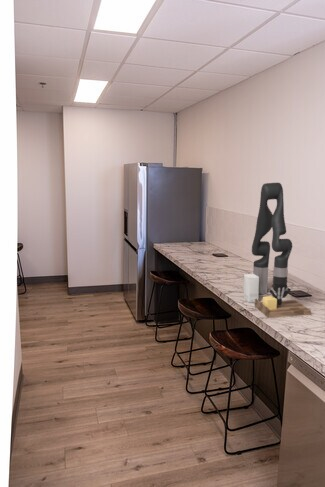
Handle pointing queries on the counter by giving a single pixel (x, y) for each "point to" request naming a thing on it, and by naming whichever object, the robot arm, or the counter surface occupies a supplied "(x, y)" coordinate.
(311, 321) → the counter surface
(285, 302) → the box
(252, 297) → the skincare box
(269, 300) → the mustard block
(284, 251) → the robot arm
